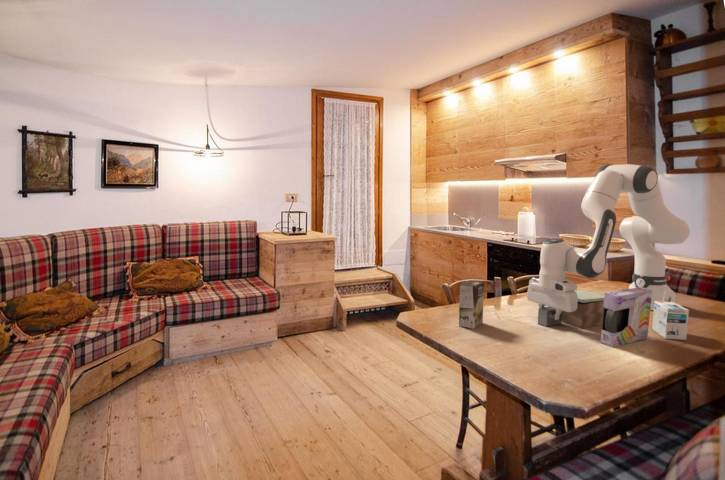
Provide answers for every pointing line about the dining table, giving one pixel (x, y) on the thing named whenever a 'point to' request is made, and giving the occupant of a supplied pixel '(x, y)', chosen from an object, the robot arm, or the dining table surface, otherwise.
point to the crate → (584, 315)
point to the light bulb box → (670, 320)
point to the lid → (588, 296)
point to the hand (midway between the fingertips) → (549, 317)
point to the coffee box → (471, 304)
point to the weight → (548, 316)
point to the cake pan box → (625, 316)
